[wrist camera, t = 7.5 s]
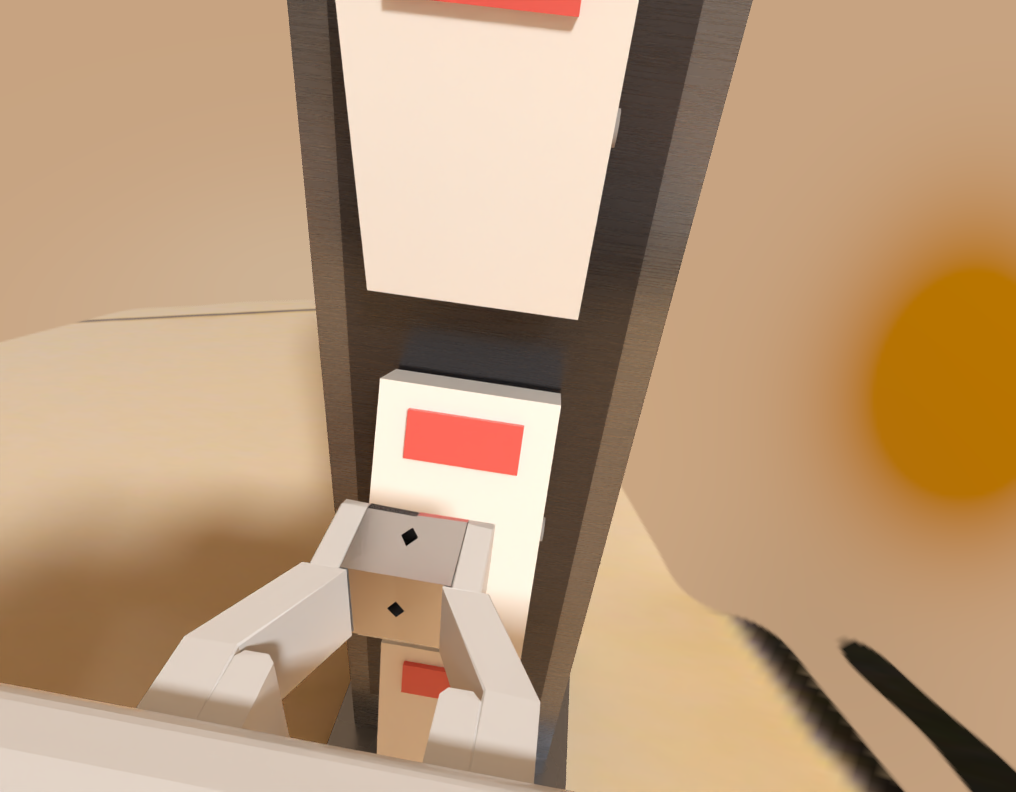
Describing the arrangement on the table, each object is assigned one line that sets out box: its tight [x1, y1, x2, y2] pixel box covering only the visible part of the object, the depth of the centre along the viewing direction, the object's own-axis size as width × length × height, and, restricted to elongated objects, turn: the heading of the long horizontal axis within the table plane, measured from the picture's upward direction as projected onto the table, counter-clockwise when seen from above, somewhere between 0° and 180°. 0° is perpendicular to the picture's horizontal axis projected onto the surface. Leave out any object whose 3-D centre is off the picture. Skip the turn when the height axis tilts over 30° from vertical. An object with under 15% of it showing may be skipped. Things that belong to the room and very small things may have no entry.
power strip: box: [287, 0, 753, 790], centre depth 22 cm, size 10×12×40 cm
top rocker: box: [335, 0, 639, 320], centre depth 11 cm, size 2×5×8 cm, turn 83°
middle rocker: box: [358, 369, 561, 660], centre depth 17 cm, size 2×5×8 cm, turn 83°
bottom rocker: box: [377, 639, 451, 763], centre depth 23 cm, size 2×5×8 cm, turn 83°
